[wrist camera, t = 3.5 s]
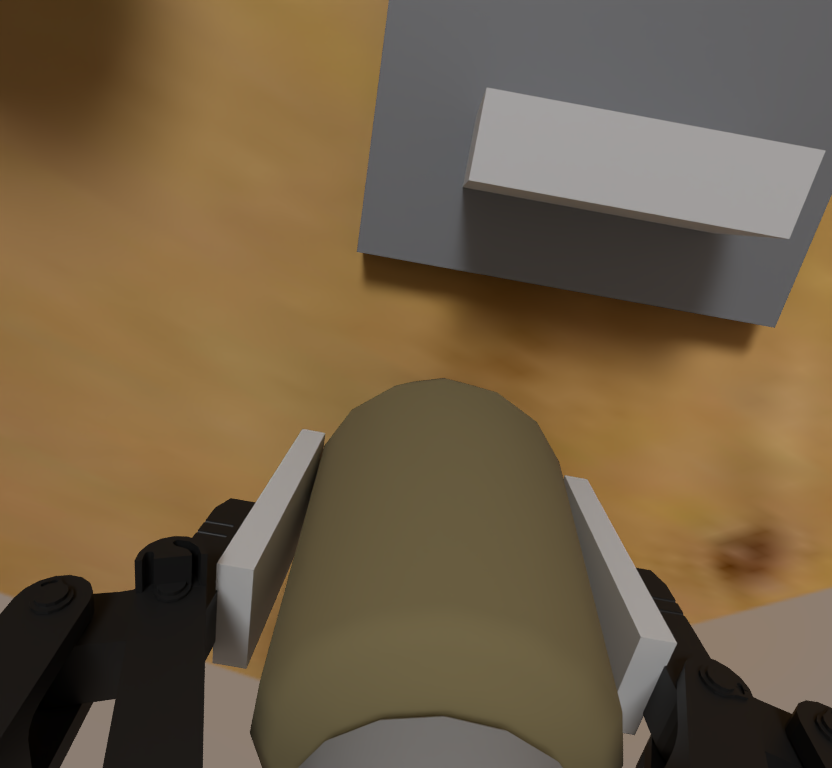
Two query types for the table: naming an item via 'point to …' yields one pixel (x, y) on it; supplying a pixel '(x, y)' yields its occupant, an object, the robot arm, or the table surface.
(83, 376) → the table surface
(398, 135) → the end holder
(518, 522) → the squeeze bottle
